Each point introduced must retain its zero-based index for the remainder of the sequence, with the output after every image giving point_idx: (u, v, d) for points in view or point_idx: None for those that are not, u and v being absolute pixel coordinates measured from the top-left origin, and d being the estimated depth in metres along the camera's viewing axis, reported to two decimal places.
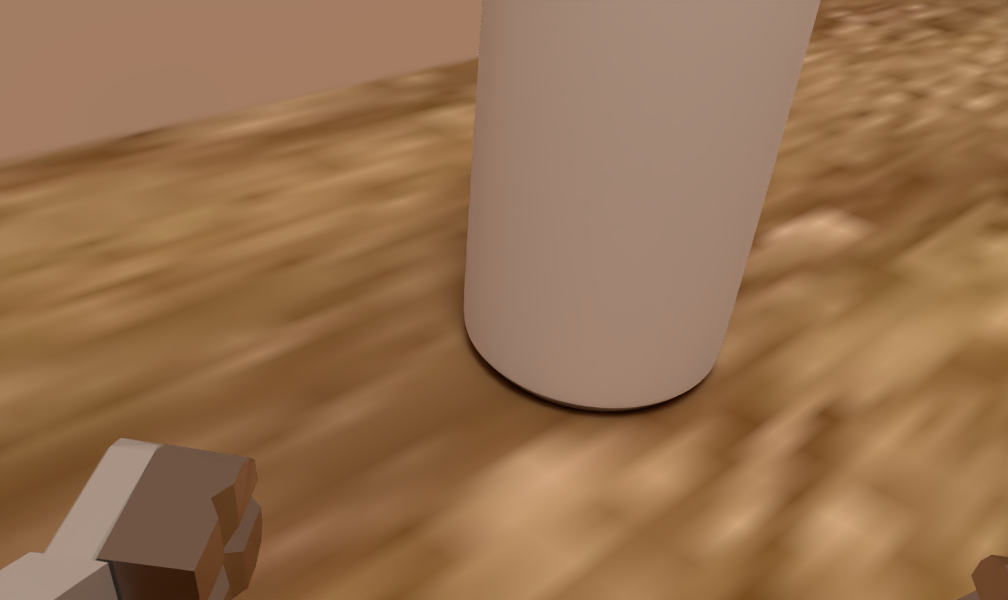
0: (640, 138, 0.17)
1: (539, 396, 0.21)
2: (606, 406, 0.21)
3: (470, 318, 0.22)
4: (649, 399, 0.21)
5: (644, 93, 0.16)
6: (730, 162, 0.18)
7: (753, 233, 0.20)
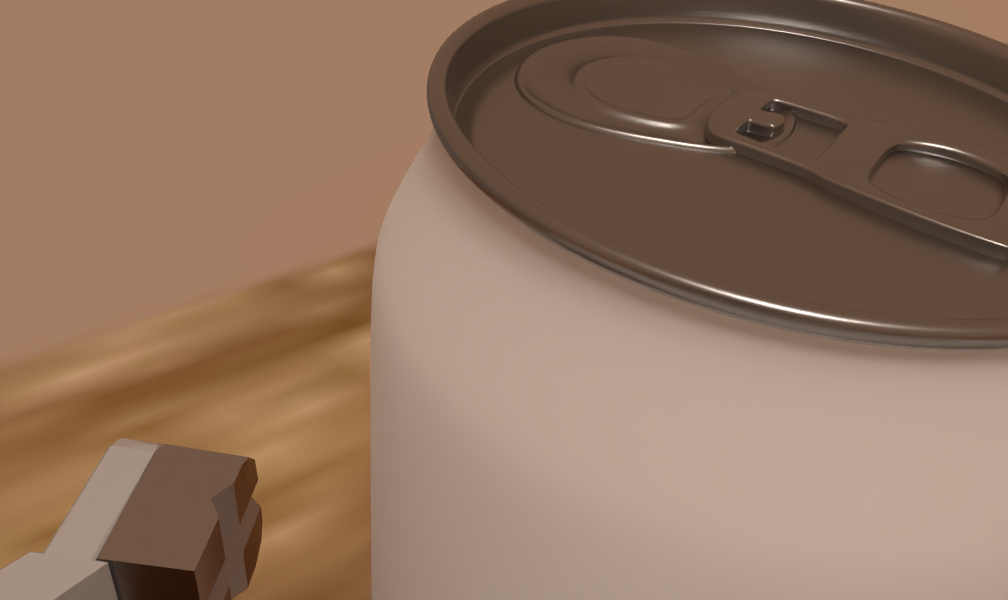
0: None
1: None
2: None
3: None
4: None
5: None
6: None
7: None
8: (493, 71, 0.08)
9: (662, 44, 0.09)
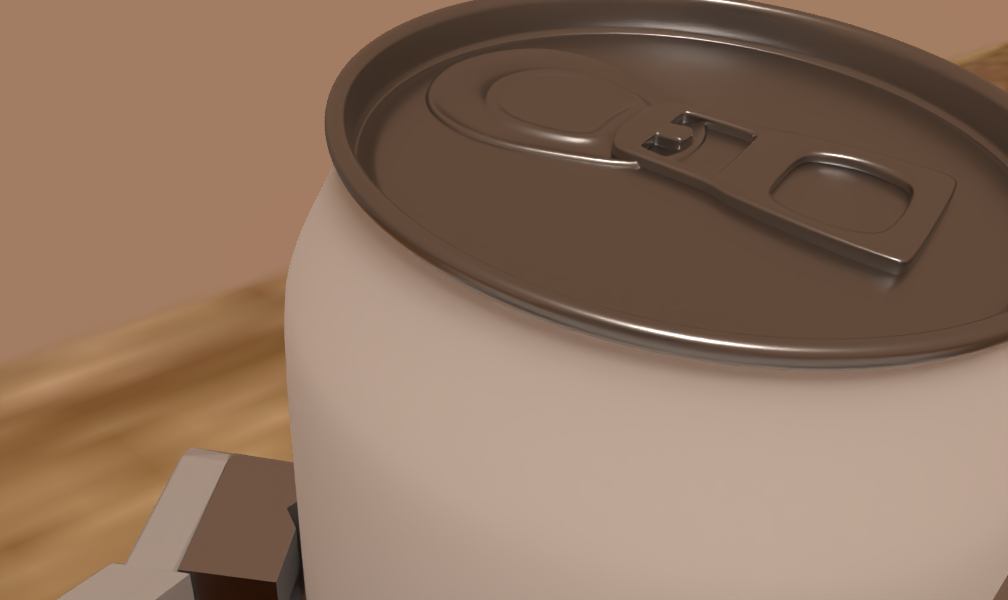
0: None
1: None
2: None
3: None
4: None
5: None
6: None
7: None
8: (406, 86, 0.08)
9: (584, 56, 0.09)
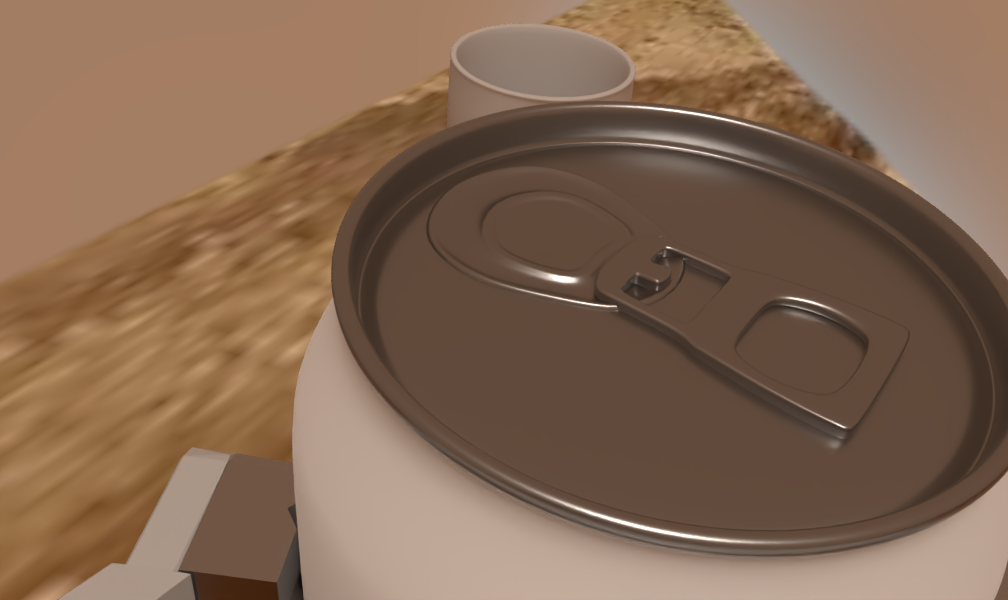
0: None
1: None
2: None
3: None
4: None
5: None
6: None
7: None
8: (409, 210, 0.09)
9: (577, 175, 0.09)
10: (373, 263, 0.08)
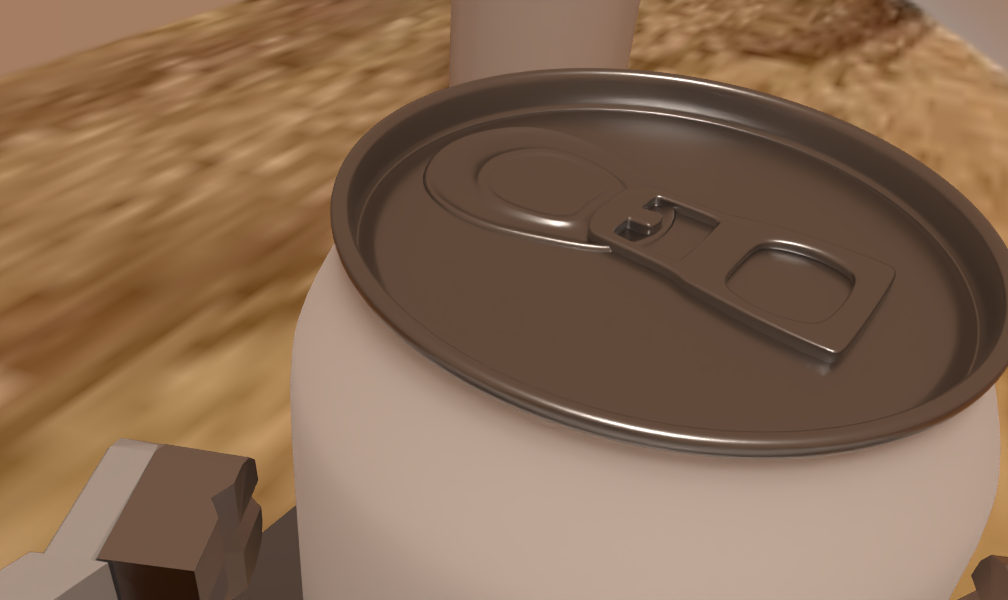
0: None
1: None
2: None
3: None
4: None
5: None
6: None
7: None
8: (407, 164, 0.09)
9: (570, 134, 0.09)
10: (371, 208, 0.08)
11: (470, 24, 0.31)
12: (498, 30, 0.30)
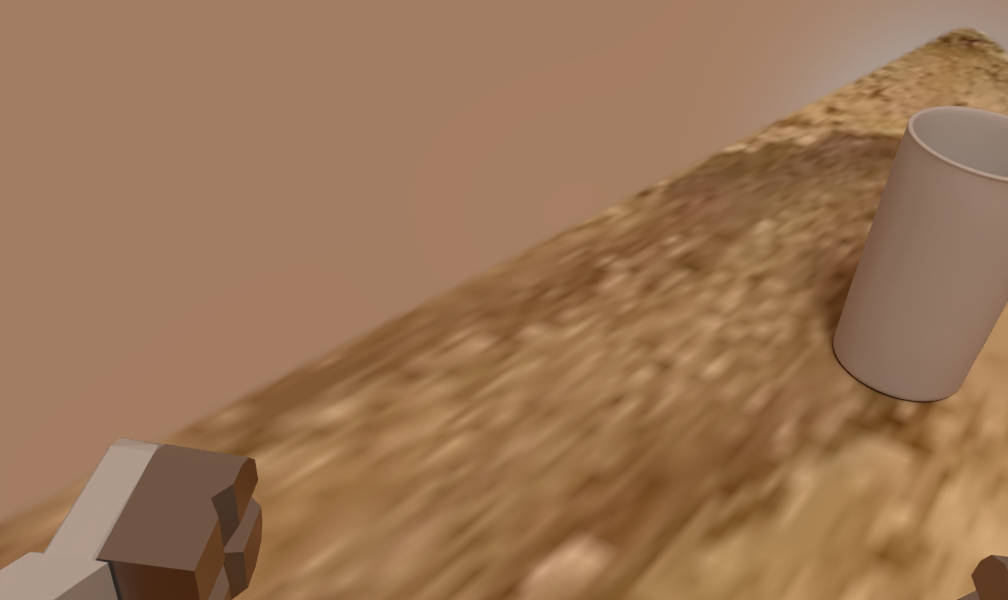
0: None
1: None
2: None
3: None
4: None
5: None
6: None
7: None
8: None
9: None
10: None
11: (883, 292, 0.42)
12: (908, 303, 0.41)
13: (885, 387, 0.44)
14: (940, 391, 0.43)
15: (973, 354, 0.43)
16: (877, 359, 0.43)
